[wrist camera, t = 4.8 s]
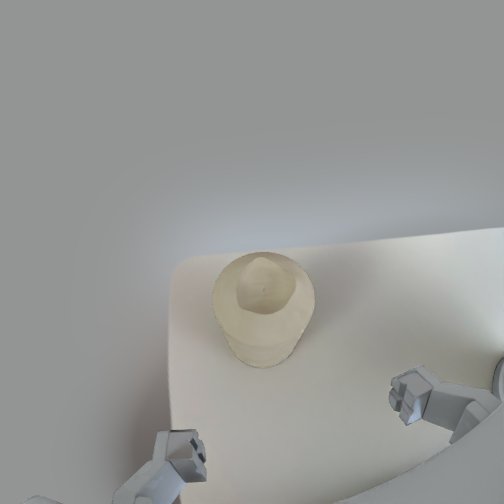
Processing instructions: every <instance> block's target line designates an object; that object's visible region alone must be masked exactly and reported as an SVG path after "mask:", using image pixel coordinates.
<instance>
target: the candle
mask: <svg viewBox="0 0 504 504" xmlns="http://www.w3.org/2000/svg"><path fill="white" fill-rule="evenodd" d="M212 305H213V310H214V313H215V316H216V318H217V321H218V323H219V325H220V327H221V329H222V331H223V333H224V335H225V337H226V339H227V341H228V343H229V345H230V347H231V349H232V351H233V352H234V354H235V355H236V356H237V357H238V358H239V359H240V360H241V361H242V362H244V363H245V364H247V365H250V366H253V367H257V368H268V367H272V366H275V365H278V364H280V363H281V362H283V361H284V360H285V359H286V358H288V357H289V355H290V354H291V353H292V351H293V350H294V348H295V346H296V344H297V342H298V341H299V339H300V337H301V335H302V333H303V332H304V330H305V328H306V326H307V324H308V322H309V320H310V318H311V316H312V313H313V310H314V305H315V293H314V288H313V285H312V282H311V280H310V278H309V276H308V275H307V274H306V272H305V271H304V270H303V269H302V268H301V266H299V265H298V264H297V263H296V262H294V261H293V260H291V259H289V258H287V257H285V256H282V255H280V254H276V253H269V252H258V253H252V254H248V255H245V256H242V257H240V258H238V259H236V260H234V261H233V262H231V263H230V264H229V265H228V266H227V267H226V268H225V269H224V270H223V271H222V272H221V274H220V275H219V277H218V278H217V280H216V283H215V285H214V289H213V294H212Z"/></svg>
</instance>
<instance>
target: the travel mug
mask: <svg viewBox="0 0 504 504" xmlns="http://www.w3.org/2000/svg"><path fill="white" fill-rule="evenodd" d="M493 395H494V396H495V397H496V398H498V399H499V400H500V401H501V402H502V403H503V402H504V358H503V359H502V360H501V361H500V363H499V364H498V366H497V368H496V371H495V374H494V379H493Z"/></svg>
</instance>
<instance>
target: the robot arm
mask: <svg viewBox="0 0 504 504" xmlns="http://www.w3.org/2000/svg"><path fill="white" fill-rule="evenodd" d="M391 386H392V387H393V388H392V389H391V391H390V392H389V402H390V405H391V407H392V408H393V410H394V411H397V412H400V414H399V417H400V418H401V420H402V421H403V422H404V424H405V425H406V426H407V425H409V424H411V423H413V422H415V421H417V420H419V419H421V418H422V419H424V420H426V421H429V422H431V423H434V424H436V425H439V426H441V427H444V428H446V429H449V430H452V431H454V432H453V434H452V436H451V438H450V441H449V442H450V443H451V445H450V446H449V447H447V448H446V449H444V450H443V451H441V452H440V453H438V454H437V455H435V456H433V457H432V458H430V459H429V460H427V461H425V462H424V463H422V464H420V465H418V466H417V467H415V468H413V469H411V470H410V471H408V472H406V473H404V474H402V475H400V476H398V477H396V478H394V479H392V480H390V481H388V482H386V483H384V484H382V485H379V486H377V487H375V488H373V489H370V490H368V491H365V492H363V493H360V494H358V495H355V496H353V497H350V498H347V499H344V500H342V501H339V502H336V503H333V504H504V402H503V403H502V402H501V401H500V400H499V399H498V398H496V397H495V396H494V395H493V394H492V393H490V392H489V391H488V390H487V389H482V388H476V387H470V386H465V385H460V384H455V383H450V382H444V383H442V382H441V381H440V380H439V379H438V378H437V377H436V376H435V375H434V374H432V373H431V372H430V371H429V370H428V369H427V368H426V367H425V366H423V365H419V366H417V367H415V368H413V369H412V370H409V371H407V372H405V373H403V374H400V375H398V376H396V377H394V378H393V379H392V380H391ZM205 461H206V452H205V447H204V444H203V442H202V440H200V439H198V432H197V431H196V429H187V430H166V431H165V430H163V431H158V433H157V435H156V441H155V446H154V452H153V458H152V461H148V462H147V463H146V464H145V465H143V466H142V468H140V469H139V470H138V471H137V472H136V473H135V474H134V475H133V476H132V477H131V478H130V479H128V480H127V481H126V482H125V483H124V484H123V485H122V486H121V487H120V488H118V489H117V490H116V491H115V492H114V495H113V500H112V504H172V503H173V501H174V500H175V499H176V497H177V496H178V494H179V493H180V492H181V490H182V489H183V488H184V486H185V485H186V483H190V482H205V481H206V468H205V466H204V462H205ZM21 504H62V503H59V502H56V501H53V500H50V499H48V498H45V497H42V496H33V497H31V498H29V499H27V500H26V501H24V502H22V503H21Z"/></svg>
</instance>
